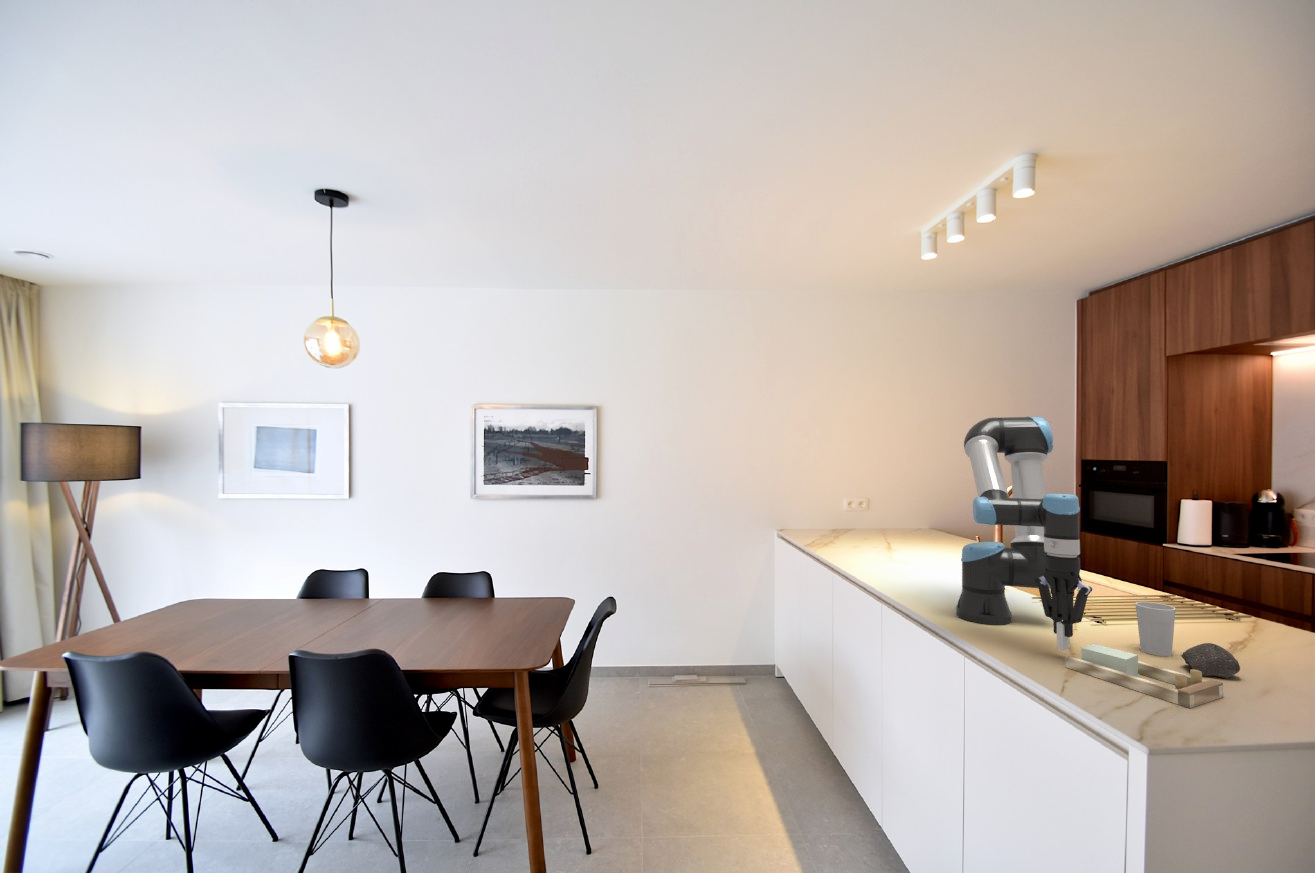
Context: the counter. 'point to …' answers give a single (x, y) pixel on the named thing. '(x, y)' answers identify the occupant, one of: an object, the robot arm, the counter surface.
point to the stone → (1211, 660)
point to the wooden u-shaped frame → (1186, 689)
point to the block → (1111, 658)
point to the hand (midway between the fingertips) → (1063, 648)
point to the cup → (1155, 627)
